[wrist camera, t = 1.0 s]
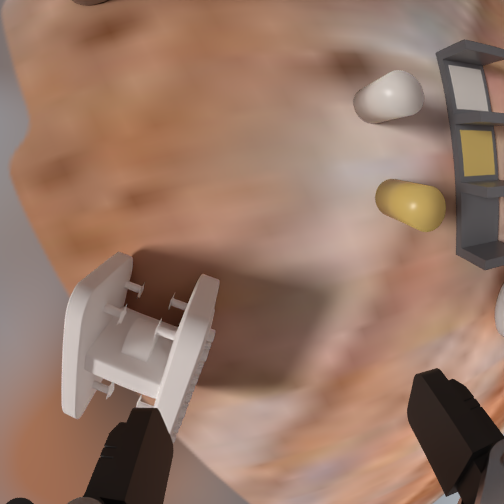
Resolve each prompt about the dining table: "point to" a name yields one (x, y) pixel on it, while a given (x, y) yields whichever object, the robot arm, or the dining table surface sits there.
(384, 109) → the plug white
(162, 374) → the cable organizer
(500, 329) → the white tapered rounded piece
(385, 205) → the plug mustard
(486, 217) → the grey compartment rack
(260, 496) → the dining table surface
